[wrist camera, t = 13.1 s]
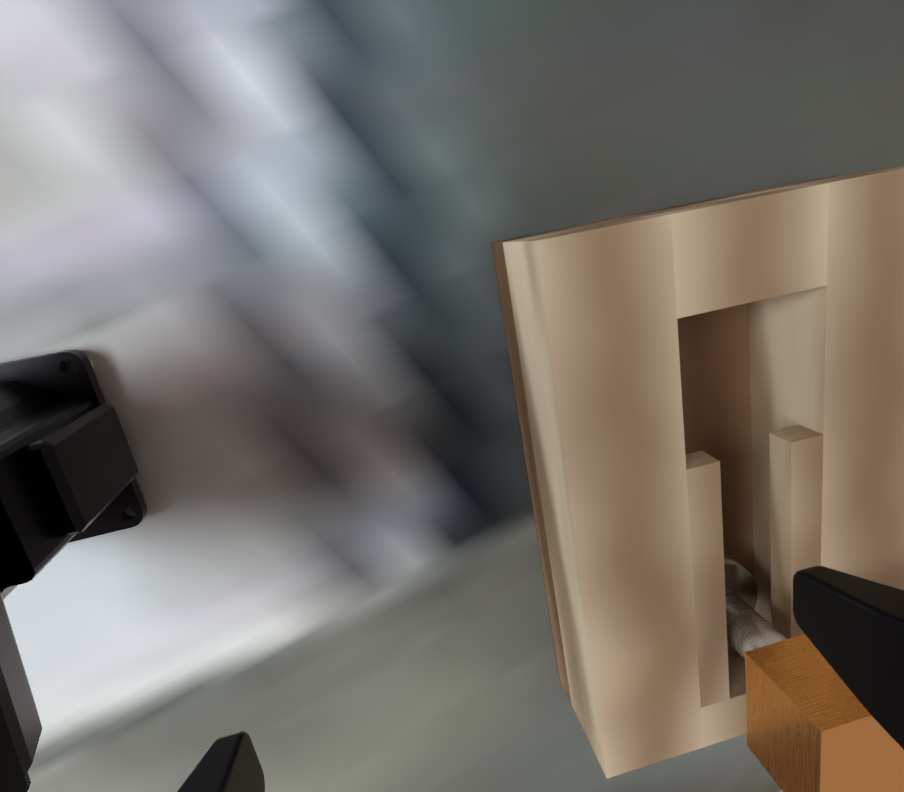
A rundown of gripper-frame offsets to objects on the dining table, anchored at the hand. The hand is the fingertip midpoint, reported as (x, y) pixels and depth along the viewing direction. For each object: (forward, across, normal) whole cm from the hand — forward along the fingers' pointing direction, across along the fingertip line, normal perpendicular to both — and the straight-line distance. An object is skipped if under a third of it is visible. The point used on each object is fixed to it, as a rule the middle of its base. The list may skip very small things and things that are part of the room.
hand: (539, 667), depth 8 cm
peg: (+12, -10, +10) cm, 18 cm away
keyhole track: (+13, -10, +4) cm, 17 cm away
